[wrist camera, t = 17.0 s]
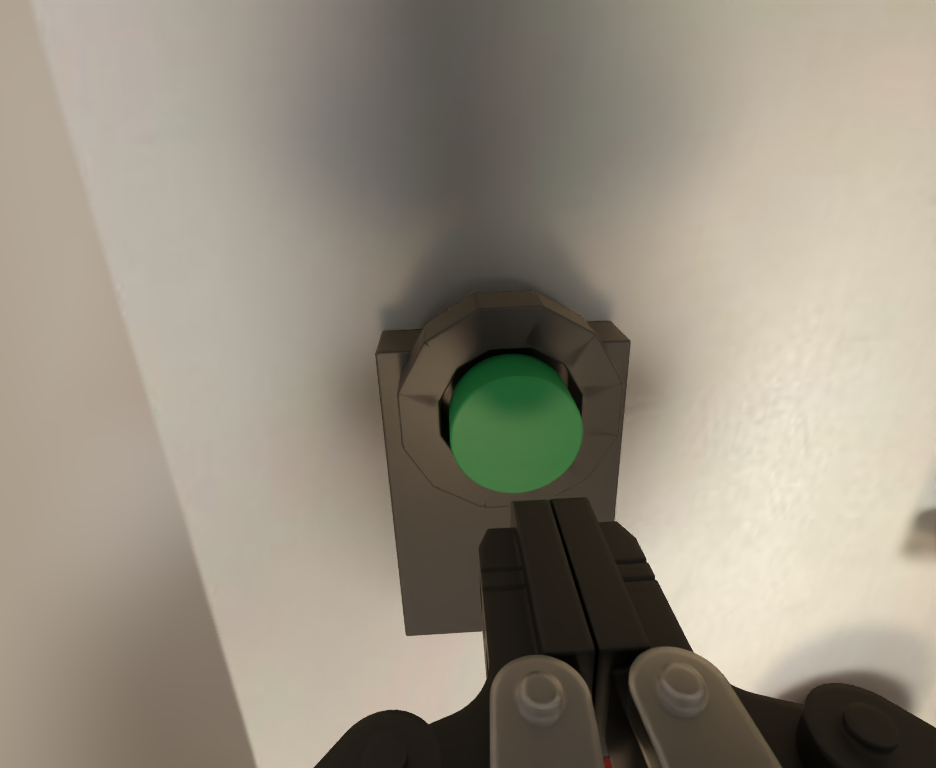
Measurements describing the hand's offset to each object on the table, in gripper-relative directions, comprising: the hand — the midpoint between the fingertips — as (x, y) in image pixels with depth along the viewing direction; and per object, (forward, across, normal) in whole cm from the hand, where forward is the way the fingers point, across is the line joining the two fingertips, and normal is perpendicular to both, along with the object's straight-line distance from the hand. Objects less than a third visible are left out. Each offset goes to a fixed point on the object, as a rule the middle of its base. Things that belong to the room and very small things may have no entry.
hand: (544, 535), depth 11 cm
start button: (+6, 0, 0) cm, 6 cm away
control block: (+9, 0, +4) cm, 10 cm away
